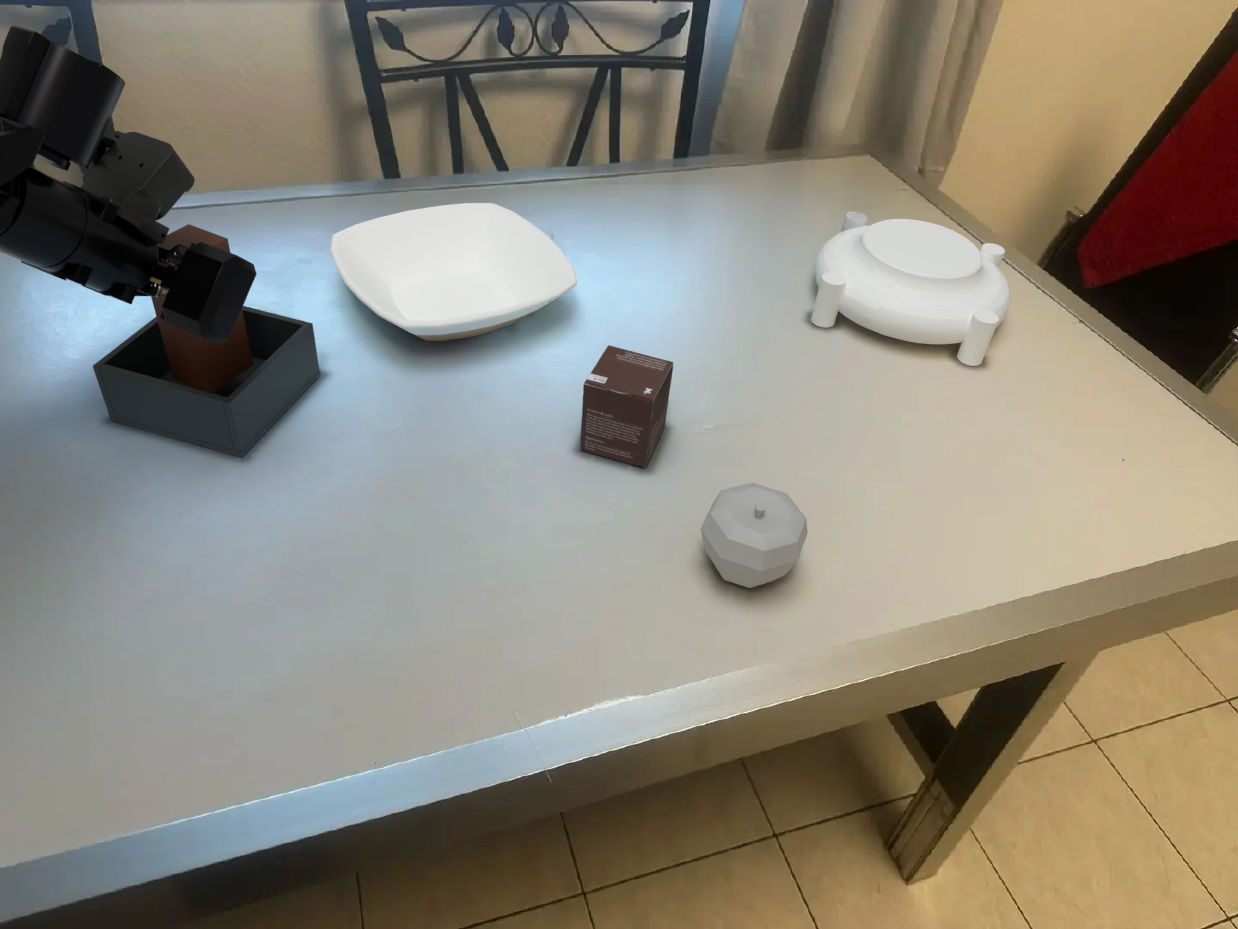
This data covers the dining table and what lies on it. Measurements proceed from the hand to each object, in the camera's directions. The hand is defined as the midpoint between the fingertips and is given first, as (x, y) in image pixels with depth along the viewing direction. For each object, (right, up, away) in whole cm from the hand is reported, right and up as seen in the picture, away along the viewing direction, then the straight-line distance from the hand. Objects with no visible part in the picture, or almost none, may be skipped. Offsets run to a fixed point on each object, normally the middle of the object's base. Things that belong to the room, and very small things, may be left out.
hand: (210, 297), depth 77 cm
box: (+33, -12, +6) cm, 36 cm away
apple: (+43, -22, -4) cm, 48 cm away
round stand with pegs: (+64, +4, +27) cm, 70 cm away
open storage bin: (-1, -8, +5) cm, 9 cm away
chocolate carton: (-1, -6, +3) cm, 7 cm away
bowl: (+16, +3, +20) cm, 26 cm away
